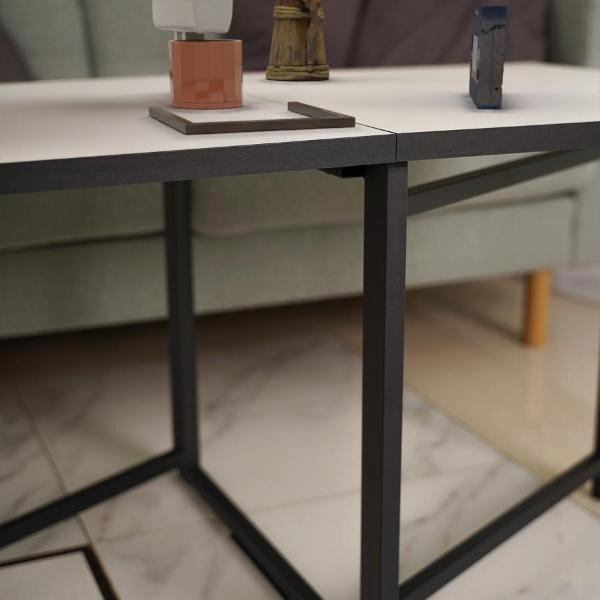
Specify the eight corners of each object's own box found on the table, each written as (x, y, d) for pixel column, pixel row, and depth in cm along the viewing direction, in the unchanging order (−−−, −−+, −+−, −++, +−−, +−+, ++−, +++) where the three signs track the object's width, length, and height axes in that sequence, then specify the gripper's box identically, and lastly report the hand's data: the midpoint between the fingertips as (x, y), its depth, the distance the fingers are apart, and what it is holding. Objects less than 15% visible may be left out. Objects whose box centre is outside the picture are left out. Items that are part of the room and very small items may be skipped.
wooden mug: (291, 84, 121) (291, -62, 115) (257, 77, 133) (255, -55, 127) (352, 82, 124) (355, -60, 118) (313, 75, 136) (314, -54, 130)
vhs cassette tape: (467, 92, 110) (472, 5, 107) (492, 93, 109) (498, 5, 106) (471, 108, 92) (477, 5, 89) (501, 109, 92) (508, 5, 89)
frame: (185, 134, 73) (185, 124, 73) (148, 115, 86) (148, 106, 86) (355, 126, 78) (355, 117, 78) (296, 109, 91) (296, 101, 91)
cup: (181, 110, 90) (178, 42, 88) (164, 103, 97) (161, 39, 95) (251, 107, 93) (251, 41, 91) (231, 100, 100) (229, 38, 98)
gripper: (135, -56, 104) (142, 69, 108) (179, -68, 85) (185, 83, 90) (189, -55, 106) (194, 68, 110) (243, -66, 88) (246, 81, 92)
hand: (190, 75), depth 100 cm, fingers closed
